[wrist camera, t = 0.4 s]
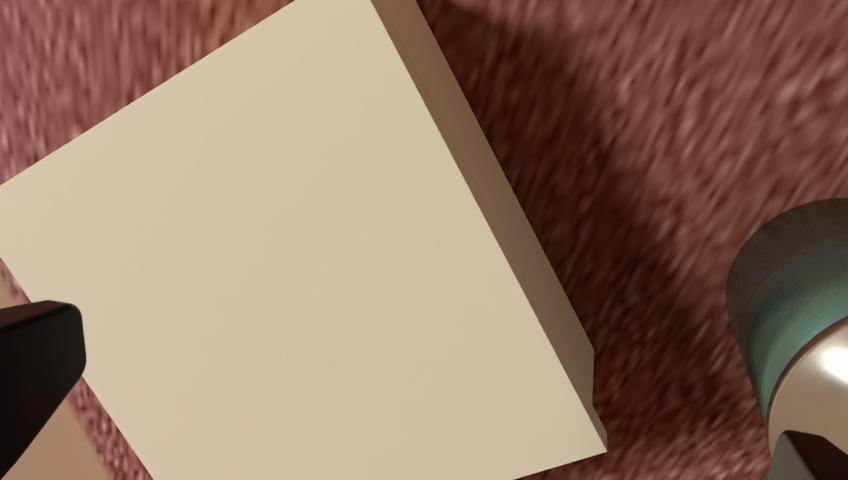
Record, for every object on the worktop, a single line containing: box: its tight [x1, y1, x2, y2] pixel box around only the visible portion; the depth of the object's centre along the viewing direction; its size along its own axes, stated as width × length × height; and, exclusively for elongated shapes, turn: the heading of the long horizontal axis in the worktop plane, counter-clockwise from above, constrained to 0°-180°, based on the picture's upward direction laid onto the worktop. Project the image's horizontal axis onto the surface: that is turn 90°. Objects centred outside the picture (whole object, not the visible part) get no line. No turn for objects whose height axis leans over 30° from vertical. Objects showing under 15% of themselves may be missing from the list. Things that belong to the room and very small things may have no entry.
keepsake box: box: [0, 0, 607, 480], centre depth 22 cm, size 13×13×5 cm
